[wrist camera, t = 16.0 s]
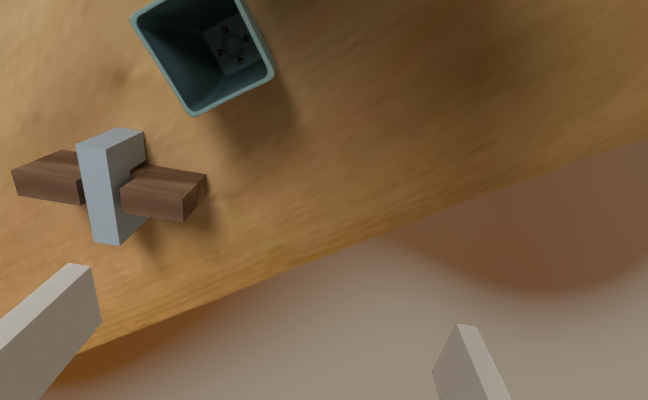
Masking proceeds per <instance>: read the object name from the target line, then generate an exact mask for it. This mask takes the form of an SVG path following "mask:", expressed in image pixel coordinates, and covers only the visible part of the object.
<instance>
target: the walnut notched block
mask: <svg viewBox="0 0 648 400" xmlns="http://www.w3.org/2000/svg"><path fill="white" fill-rule="evenodd" d="M11 173H12V177H13V180H14V183H15V187H16V190H17V193H18V196H24V197H30V198H36V199H42V200H48V201H55V202H61V203H67V204H73V205H79V206H81V205H82V204H84V203H85V202H86V198H85V193H84V188H83V183H82V178H81V173H80V167H79V162H78V157H77V152H72V151H66V150H60V151H57V152H55V153H52V154H50V155H48V156H45V157H43V158H40V159H38V160H35V161H33V162H30V163H28V164H25V165H23V166H20V167H18V168H15V169H13V170H11ZM130 179H131V181H130V182H128V183H127V184H125V185H124V186H123V187H121V188H120V197H121V204H122V212H123V213H128V214H134V215H140V216H146V217H152V218H158V219H164V220H170V221H176V222H182V223H183V222H184V221H185V220H186V219H187V217H188V216H189V215H190V214H191V213H192V211H193V210H194V209H195V208H196V207H197V205H198V204H199V203H200V202H201V201H202V199H203V198H204V197H205V196H206V174H200V173H194V172H189V171H183V170H177V169H171V168H165V167H160V166H154V165H148V164H142V163H140V164H139V165H137V166H136V167H134V168H133V169H131V170H130Z"/></svg>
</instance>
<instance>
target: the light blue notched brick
mask: <svg viewBox="0 0 648 400" xmlns="http://www.w3.org/2000/svg"><path fill="white" fill-rule="evenodd" d="M75 147H76V152H77V157H78V162H79V167H80V173H81V178H82V183H83V188H84V193H85V198H86V204H87V209H88V214H89V219H90V224H91V230H92V235H93V240H94V242H98V243H104V244H110V245H117V246H120V245H121V244H122V243H123V242H124V241H125V240H127V239H128V238H129V237H130V236H131V235H132V234H133V233H134V232H135V231H136V230H137V229H138V228H139V227H140V226H141V225H142V224H143V223H144V222H145V221H146V220H147V219H148V218H150V217H146V216H140V215H134V214H128V213H123V212H122V204H121V197H120V188H121V187H123V186H124V185H125V184H127V183H128V182H130V181H131V179H130V170H131V169H133V168H134V167H136V166H137V165H139V164H140V163H142V162H144V161H145V160H146V158H145V147H144V136H143V131H138V130H132V129H126V128H120V127H117V128H114V129H112V130H109V131H107V132H104V133H102V134H99V135H97V136H94V137H92V138H90V139H87V140H85V141H82V142H80V143H77V144H75Z"/></svg>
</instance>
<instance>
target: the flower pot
mask: <svg viewBox="0 0 648 400" xmlns="http://www.w3.org/2000/svg"><path fill="white" fill-rule="evenodd" d="M129 21H130V23H131V25H132V27H133V29H134V31H135V32H136V33H137V35H138V37H139V38H140V40H141V41H142V43H143V44H144V46H145V47H146V49H147V50H148V52H149V54H150V55H151V56H152V58H153V60H154V61H155V63H156V64H157V66H158V67H159V69H160V71H161V72H162V74H163V75H164V77H165V79H166V80H167V82H168V83H169V85H170V87H171V88H172V90H173V91H174V93H175V95H176V96H177V98H178V99H179V101H180V103H181V105H182V106H183V108H184V110H185V111H186V112H187V114H188V115H189V116H190V117H192V118H195V117H198V116H200V115H202V114H203V113H205V112H207V111H209V110H211V109H213V108H215V107H217V106H219V105H221V104H223V103H225V102H227V101H229V100H231V99H233V98H235V97H237V96H239V95H241V94H243V93H245V92H247V91H249V90H251V89H254V88H256V87H258V86H260V85H262V84H265V83H267V82H269V81H270V80H272V79H273V78H274V75H275V72H276V64H275V62H274V59H273V57H272V55H271V53H270V51H269V49H268V47H267V45H266V43H265V41H264V38H263V36H262V34H261V32H260V30H259V28H258V26H257V24H256V22H255V19H254V17H253V15H252V13H251V11H250V9H249V7H248V5H247V3H246V0H154V1H153V2H151V3H149V4H148V5H146V6H144V7H143V8H141V9H139V10H137V11H136V12H134V13H133V14H132V15H131V16H130V18H129ZM223 27H227V29H228V31H227V32H226V33H225V32H223ZM245 36H248V38H249V40H248V41H245V40H244V37H245ZM219 50H222V51H223V54H222V55H219V53H218V51H219ZM240 58H242V59H243V60H244V62H243V63H240V62H239V59H240Z"/></svg>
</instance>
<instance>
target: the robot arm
mask: <svg viewBox="0 0 648 400" xmlns="http://www.w3.org/2000/svg"><path fill="white" fill-rule="evenodd" d="M101 323H102V319H101V314H100V309H99V305H98V300H97V295H96V290H95V285H94V280H93V275H92V271H91V266H85V265H78V264H72V263H67V264H66V265H65V266H64V267H63V268H61V269H60V270H59V271H58V272H57V273H55V274H54V275H53V276H52V277H51V278H49V279H48V280H47V281H46V282H45V283H43V284H42V285H41V286H40V287H39V288H37V289H36V290H35V291H34V292H33V293H31V294H30V295H29V296H28V297H27V298H25V299H24V300H23V301H22V302H21V303H19V304H18V305H17V306H16V307H15V308H14V309H12V310H11V311H10V312H9V313H8V314H6V315H5V316H4V317H3V318H2V319H0V400H38V399H39V398H40V397H41V395H42V394H43V393H44V392H45V391H46V390H47V388H48V387H49V386H50V385H51V384H52V382H53V381H54V380H55V379H56V377H57V376H58V375H59V374H60V373H61V371H62V370H63V369H64V368H65V367H66V365H67V364H68V363H69V362H70V361H71V359H72V358H73V357H74V356H75V355H76V353H77V352H78V351H79V350H80V348H81V347H82V346H83V345H84V344H85V342H86V341H87V340H88V339H89V338H90V336H91V335H92V334H93V333H94V332H95V330H96V329H97V328H98V327H99V325H100V324H101ZM432 373H433V377H434V380H435V384H436V387H437V391H438V394H439V398H440V400H512V399H511V397H510V395H509V393H508V391H507V389H506V387H505V384H504V382H503V380H502V378H501V376H500V374H499V372H498V370H497V368H496V366H495V364H494V362H493V360H492V358H491V356H490V354H489V351H488V349H487V347H486V345H485V344H484V341H483V339H482V338H481V335H480V333H479V331H478V329H477V327H476V326H469V325H463V324H456V325H455V327H454V329H453V331H452V333H451V335H450V337H449V339H448V341H447V343H446V344H445V346H444V348H443V350H442V352H441V354H440V356H439V358H438V360H437V362H436V364H435V366H434V368H433V370H432Z"/></svg>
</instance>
